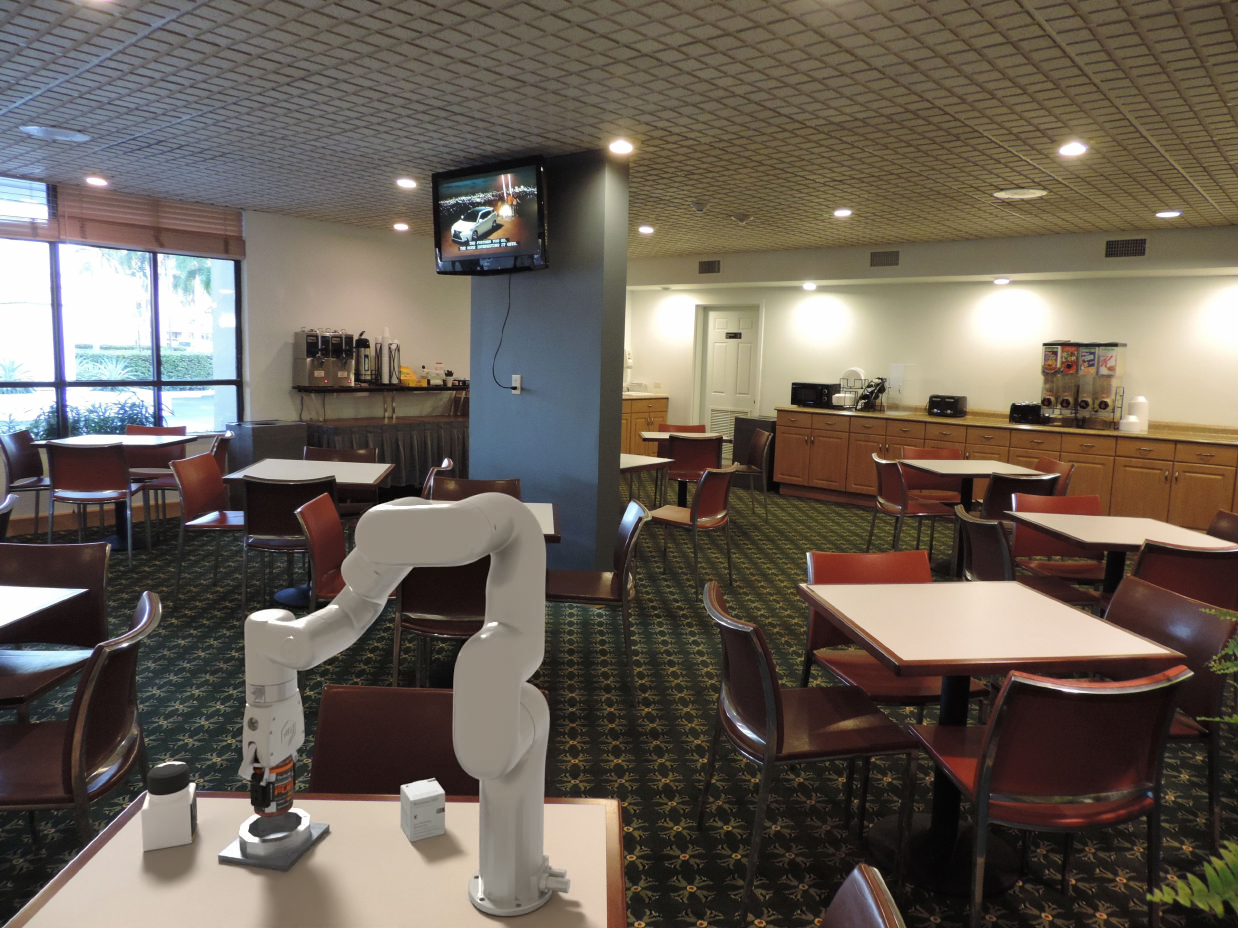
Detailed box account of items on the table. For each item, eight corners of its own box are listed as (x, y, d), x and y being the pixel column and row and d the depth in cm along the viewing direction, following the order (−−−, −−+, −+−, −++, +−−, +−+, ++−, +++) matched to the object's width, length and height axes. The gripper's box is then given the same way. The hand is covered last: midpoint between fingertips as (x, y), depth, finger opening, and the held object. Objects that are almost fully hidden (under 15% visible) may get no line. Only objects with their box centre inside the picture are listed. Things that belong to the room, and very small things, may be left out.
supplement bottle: (279, 821, 129) (277, 753, 128) (245, 816, 130) (243, 748, 129) (301, 802, 135) (300, 736, 133) (268, 797, 136) (267, 732, 135)
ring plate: (329, 829, 138) (329, 809, 137) (286, 871, 126) (286, 850, 126) (266, 820, 140) (265, 800, 140) (218, 860, 128) (217, 839, 128)
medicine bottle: (192, 843, 133) (190, 773, 131) (142, 852, 130) (139, 780, 129) (197, 821, 139) (195, 754, 138) (149, 828, 137) (146, 760, 135)
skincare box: (410, 843, 134) (409, 800, 133) (399, 825, 139) (399, 784, 139) (446, 833, 137) (445, 791, 137) (434, 816, 143) (434, 776, 142)
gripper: (258, 712, 121) (260, 827, 123) (323, 671, 138) (324, 773, 140) (213, 706, 122) (217, 820, 124) (283, 667, 139) (285, 767, 141)
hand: (274, 794), depth 132 cm, fingers closed on supplement bottle, 5 cm apart
